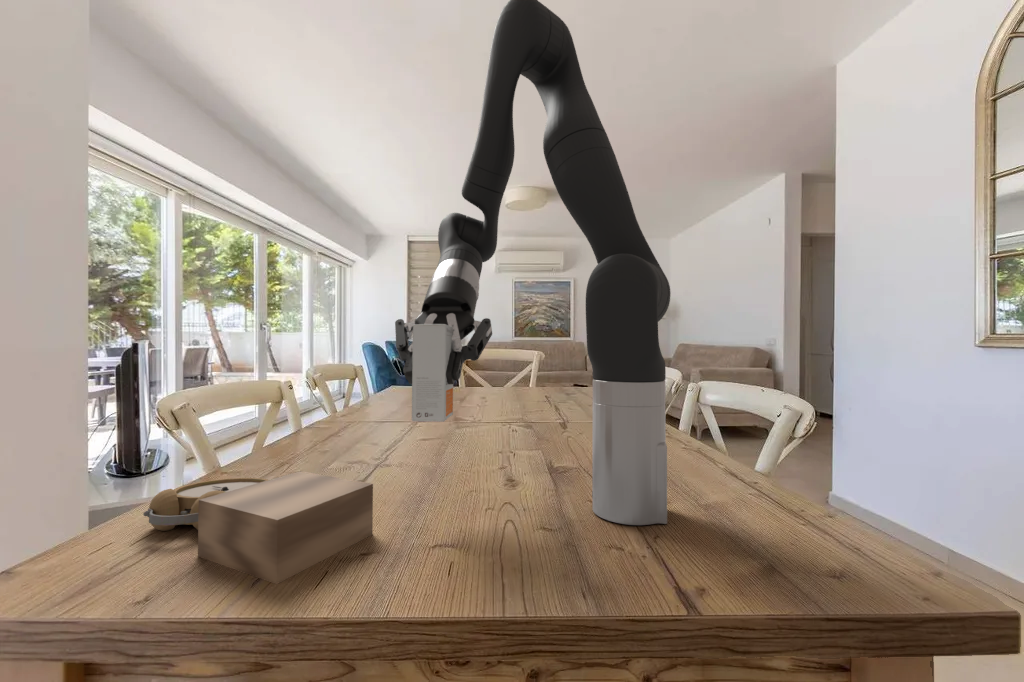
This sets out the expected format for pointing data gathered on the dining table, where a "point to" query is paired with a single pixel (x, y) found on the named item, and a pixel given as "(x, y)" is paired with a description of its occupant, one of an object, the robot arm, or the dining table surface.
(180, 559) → the dining table surface
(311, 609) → the dining table surface
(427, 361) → the skincare box
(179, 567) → the dining table surface
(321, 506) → the walnut block
